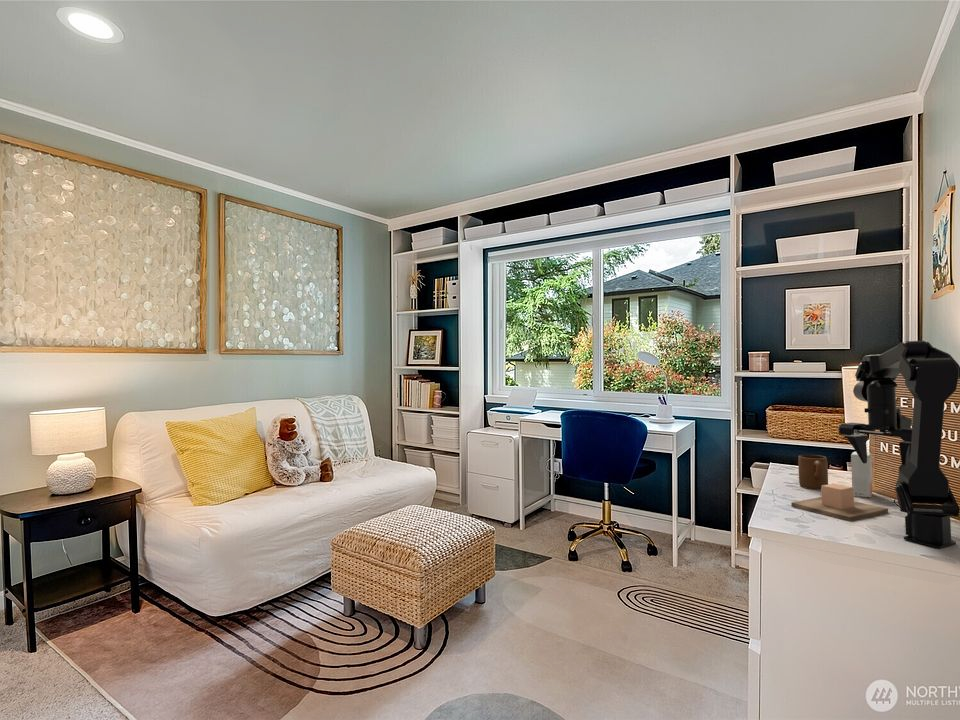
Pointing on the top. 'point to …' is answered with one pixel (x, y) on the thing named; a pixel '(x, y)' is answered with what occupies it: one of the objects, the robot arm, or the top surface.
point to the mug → (812, 471)
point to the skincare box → (861, 475)
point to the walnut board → (847, 514)
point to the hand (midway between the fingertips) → (884, 466)
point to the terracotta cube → (837, 496)
